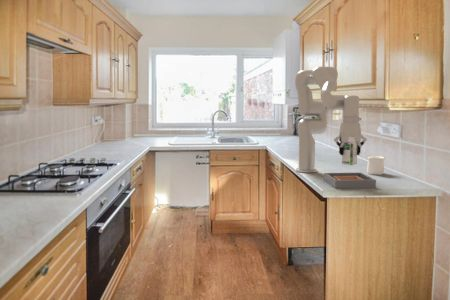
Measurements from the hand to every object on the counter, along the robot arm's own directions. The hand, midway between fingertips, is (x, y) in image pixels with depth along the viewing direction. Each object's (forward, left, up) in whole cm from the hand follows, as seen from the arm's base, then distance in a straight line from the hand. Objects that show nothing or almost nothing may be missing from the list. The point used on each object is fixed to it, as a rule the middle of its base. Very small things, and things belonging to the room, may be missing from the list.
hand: (349, 154), depth 208 cm
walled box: (0, 0, -15) cm, 15 cm away
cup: (-28, +25, -16) cm, 41 cm away
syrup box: (0, 0, -5) cm, 5 cm away
